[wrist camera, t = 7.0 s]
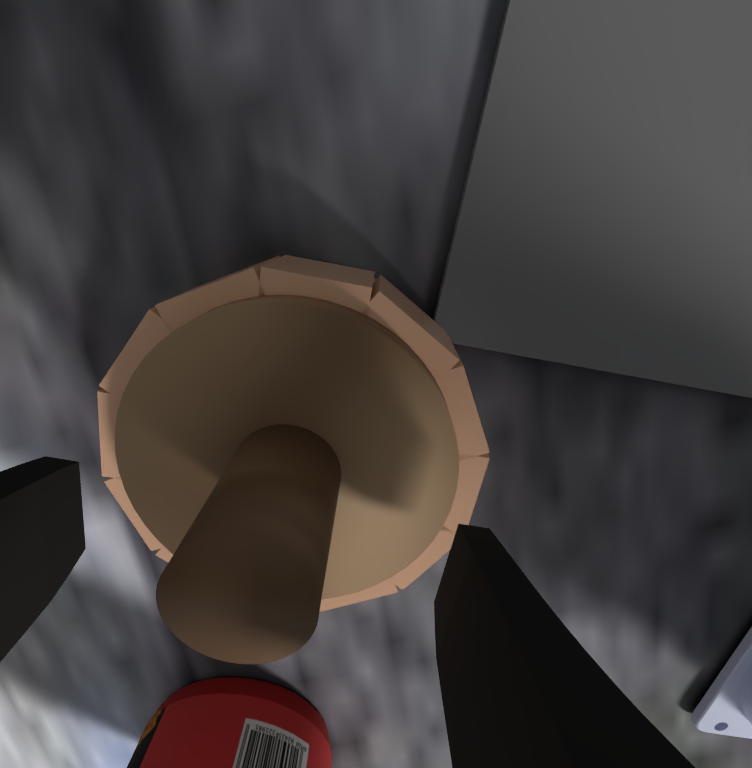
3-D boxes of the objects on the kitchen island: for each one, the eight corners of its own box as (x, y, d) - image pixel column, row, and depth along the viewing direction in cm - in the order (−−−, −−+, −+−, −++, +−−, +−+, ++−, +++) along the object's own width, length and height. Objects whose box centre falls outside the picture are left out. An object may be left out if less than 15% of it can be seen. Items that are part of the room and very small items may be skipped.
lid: (500, 344, 10) (585, 448, 6) (404, 600, 12) (413, 796, 8) (143, 253, 9) (-57, 293, 5) (126, 542, 12) (-11, 721, 8)
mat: (1146, -127, 9) (1179, -141, 9) (820, 407, 13) (833, 412, 13) (570, -271, 8) (579, -294, 8) (428, 335, 13) (430, 339, 12)
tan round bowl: (498, 290, 12) (534, 318, 9) (425, 549, 16) (434, 630, 13) (162, 227, 12) (88, 235, 9) (161, 507, 15) (107, 581, 12)
